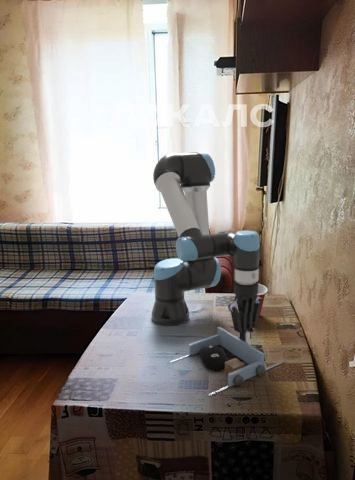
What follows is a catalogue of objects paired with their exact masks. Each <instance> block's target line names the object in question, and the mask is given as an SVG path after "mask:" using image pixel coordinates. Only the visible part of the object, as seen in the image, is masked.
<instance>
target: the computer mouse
mask: <svg viewBox="0 0 355 480" xmlns="http://www.w3.org/2000/svg"><path fill="white" fill-rule="evenodd" d="M199 355H200V356H199V358H200V359H201V362H202V365H203V366H204V367H205V368H206V369H207V370H208V371H210V372H214V373H215V372H216V373H217V372H218V373H219V372H222V371H225V362H226V361H227V360H226V353H225V351H224V349H223V348H222V347H221V346H215V347H212V346H209V347H206V348H202V349H201V350H200V352H199Z"/></svg>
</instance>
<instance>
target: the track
mask: <svg viewBox="0 0 355 480" xmlns="http://www.w3.org/2000/svg"><path fill="white" fill-rule="evenodd" d="M236 337H238V338H239V337H240V335H238V336H237V335H236ZM214 347H219V345H217V346H214ZM195 354H200V352H198V353H195ZM195 354H193V355H195ZM193 355H189V353H188V354H185V355H183V356H180V357H178V358H175V359H172V360H170V361H169V362H170V363H171V364H172V363H174V362H178V361H180V360H182V359H185V358H188V357H191V356H193ZM285 362H286V361H285V360H280V361H279V362H277V363H274V364H272V365H270V366H268V367H264V368H265V372H266V371H268V370H271V369H273V368H275V367H278V366H280V365H281V364H284V363H285ZM257 375H258V374H257ZM257 375H255V376H254V377H256V376H257ZM258 376H259V375H258ZM249 379H250V378H248V379H246V380H244V381H247V380H249ZM244 381H243V382H244ZM234 386H235V385H233V386H232V387H234ZM229 388H231V387H230V386H229V385H228V384H227V385H225V386H223V387H221V388H218V389H217V390H214V391H212V392H210V393H207V396H208V397H211V396H213V395H214V396H215V395H216V394H218V393H220V392H222V391H224V390H228V389H229Z"/></svg>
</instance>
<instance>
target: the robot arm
mask: <svg viewBox="0 0 355 480" xmlns="http://www.w3.org/2000/svg"><path fill="white" fill-rule="evenodd" d="M152 173H153V175H152V176H153V177H152V179H153V183H154V186H155V189H156V190H157V191H158V192H159V193H161V196H162V199H163V202H164V204H165V205H166V208H167V212H168V214H169V215H170V218H171V219H170V220H171V221H172V223H173V226H174V229H175V231H176V233H177V236H178V238H177V239H176V241H175V251H176V256H177V258H174V257H173V258H166V259H163V260H161V261H159V262H157V263H156V264H155V265H154V270H153V279H154V281H153V282H154V298H155V299H154V302H153V306H152V310H151V320H152V321H153V322H154V324H158V325H161V326H178V325H181V324H184V323H185V322H187V321H188V320H189V319H190V311H189V310H190V309H189V308H188V305H187V303H186V299H185V292H189V291H196V290H200V289H209V288H211V287H215V286H217V284H218V283H219V282H220V280H221V276H222V266H221V264H220V260H219V259H218V257H225V256H229V257H230V258H233V264H234V265H233V266H234V267H233V280H234V281H233V293H234V295H235V296H234V300H233V301H234V302H233V303H232V304H229V305H228V306H227V308H228V310H229V311H230V316H231V320H232V321H231V322H232V324H233V329H234V331H235V332H237V333H239V336H240V337H239V339H241V340H243V341H244V342H246V343H248V344H249V345H251V339H252V333H253V332H255V329H256V328H257V327H258V321H259V317H258V316H259V311H260V306H261V304H262V302H263V303H264V301H263V299H262V298H260V297H258V296H257V294H258V284H260V283H259V278H260V277H259V275H260V248H261V244H260V234H259V233H258V232H257V231H254V230H239V231H236V232H235V231H232V230H229V229H223V230H220V231H218V232H217V233H212V234H211V233H210V225H209V224H210V223H209V210H208V208H209V207H208V190H209V188H210V187H211V183H212V182H213V181H214V180H215V178H216V177H215V176H216V167H215V164H214V160H213V158H212V157H211V156H210V154H208V153H206V152H198V151H195V152H194V151H193V152H179V153H178V152H172V153H168V154H166V155H163V156H162V157H161V158H160V159H159V160H158V161H157V163H156V164H155V167H154V169H153V172H152Z"/></svg>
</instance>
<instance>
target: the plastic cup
mask: <svg viewBox="0 0 355 480" xmlns="http://www.w3.org/2000/svg"><path fill="white" fill-rule="evenodd" d="M268 291H269V290H268V288H267V286H265V285H263V284H261V283H259V284H258V294H257V296H258V297H260V298H262V299H263V302H262V304H261V306H260V311H259V316H258V318H260V316H261V314H262V309H263V305H264V300H265V296H266V294H267V292H268Z"/></svg>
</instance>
